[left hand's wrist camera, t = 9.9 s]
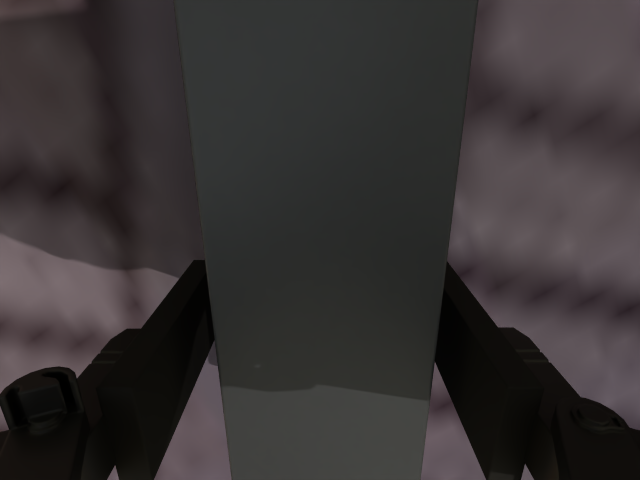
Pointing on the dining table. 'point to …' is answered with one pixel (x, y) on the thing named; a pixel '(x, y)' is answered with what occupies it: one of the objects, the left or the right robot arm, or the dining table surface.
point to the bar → (325, 221)
